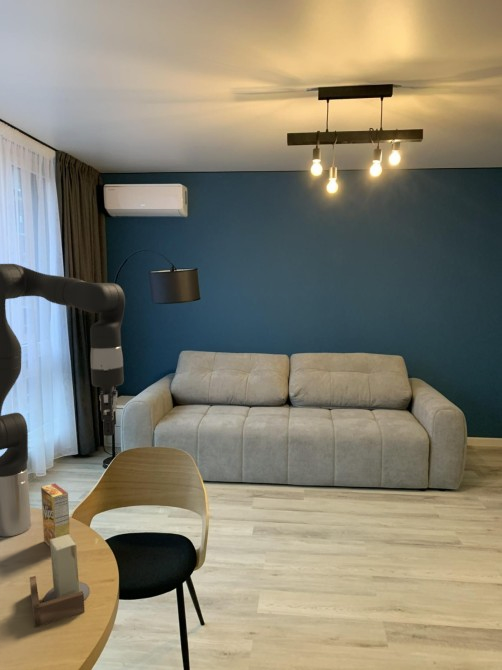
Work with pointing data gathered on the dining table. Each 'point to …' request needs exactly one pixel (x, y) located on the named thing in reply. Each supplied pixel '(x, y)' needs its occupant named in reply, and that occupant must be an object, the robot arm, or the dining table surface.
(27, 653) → the dining table surface
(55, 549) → the skincare box
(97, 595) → the dining table surface
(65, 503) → the candy box
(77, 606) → the corner guide
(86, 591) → the pad
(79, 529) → the dining table surface
